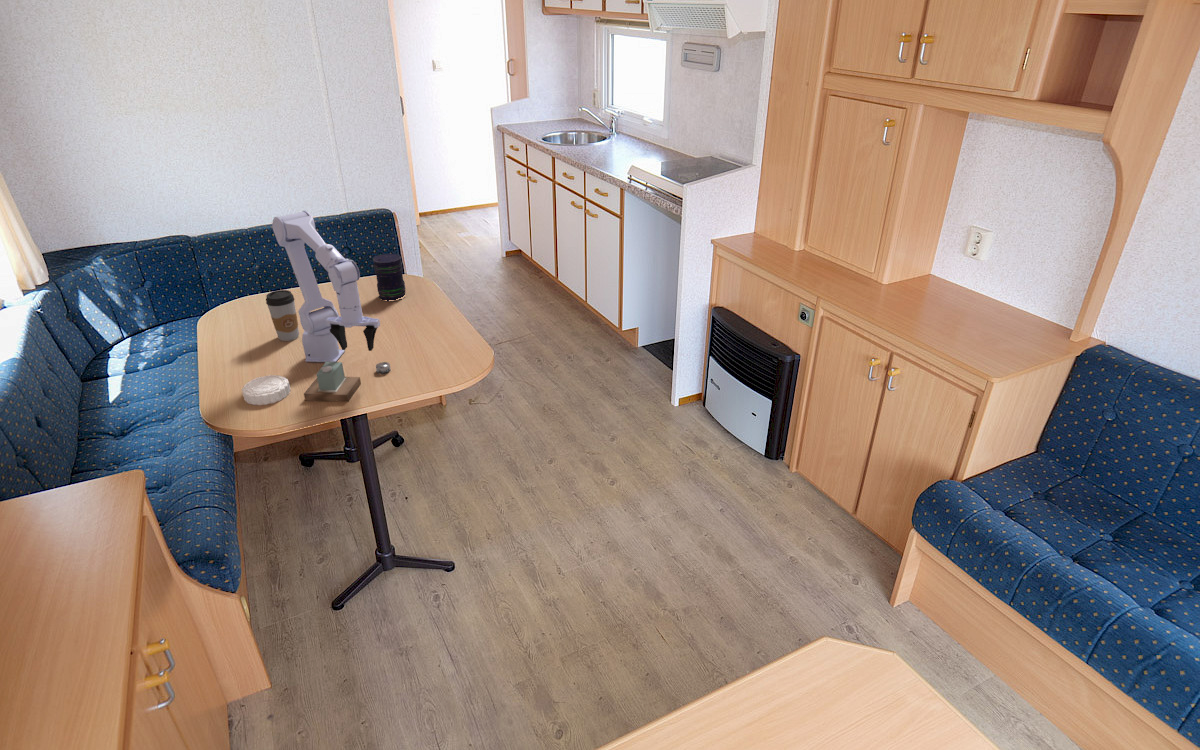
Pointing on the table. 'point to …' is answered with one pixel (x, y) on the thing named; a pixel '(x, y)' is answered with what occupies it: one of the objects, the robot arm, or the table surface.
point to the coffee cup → (283, 314)
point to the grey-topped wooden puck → (383, 368)
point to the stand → (333, 391)
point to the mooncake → (266, 390)
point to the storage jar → (389, 276)
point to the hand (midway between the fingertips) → (358, 348)
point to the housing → (330, 376)
